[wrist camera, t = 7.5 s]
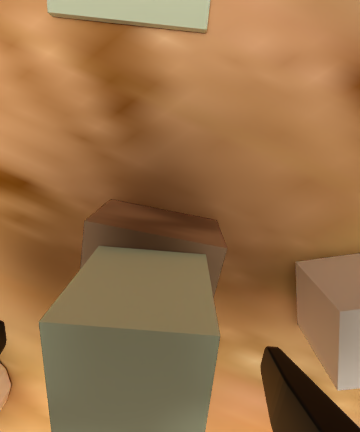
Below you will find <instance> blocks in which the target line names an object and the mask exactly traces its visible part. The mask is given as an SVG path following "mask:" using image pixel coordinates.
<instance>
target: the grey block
mask: <svg viewBox="0 0 360 432" xmlns="http://www.w3.org/2000/svg"><path fill="white" fill-rule="evenodd" d="M295 264H296V296H297V324H298V326H299V327H300V329H301V331H302V332H303V334H304V336H305V337H306V339H307V341H308V342H309V344H310V346H311V347H312V349H313V351H314V352H315V354H316V356H317V357H318V359H319V361H320V362H321V364H322V365H323V367H324V369H325V370H326V372H327V374H328V375H329V377H330V379H331V380H332V382H333V384H334V385H335V387H336V389H337V390H347V389H357V388H360V253H357V254H349V255H342V256H335V257H327V258H320V259H312V260H305V261H297V262H295Z"/></svg>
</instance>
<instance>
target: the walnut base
mask: <svg viewBox="0 0 360 432" xmlns="http://www.w3.org/2000/svg"><path fill="white" fill-rule="evenodd" d="M98 246H107V247H120V248H132V249H145V250H157V251H170V252H182V253H195V254H206V258H207V264H208V270H209V275H210V281H211V287H212V292H213V298H214V294H215V291H216V287H217V284H218V280H219V276H220V273H221V269H222V266H223V262H224V259H225V255H226V251H227V246H226V244H225V241H224V238H223V236H222V233H221V231H220V228H219V225H218V223H217V220H214V219H208V218H203V217H198V216H193V215H188V214H183V213H178V212H173V211H168V210H163V209H158V208H153V207H147V206H142V205H137V204H132V203H127V202H122V201H117V200H112V199H111V200H110V201H108V202H107V203H106V204H105V205H103V206H102V207H101V208H100V209H98V210H97V211H96V212H95V213H93V214H92V215H91V216H90V217H89V218H87V219H86V220H85V221H84V232H83V243H82V254H81V265H80V269H81V268H82V267H83V265H84V264H85V263H86V262H87V260H88V259H89V258H90V256H91V255H92V254H93V253H94V251H95V250H96V249H97V248H98Z"/></svg>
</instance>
